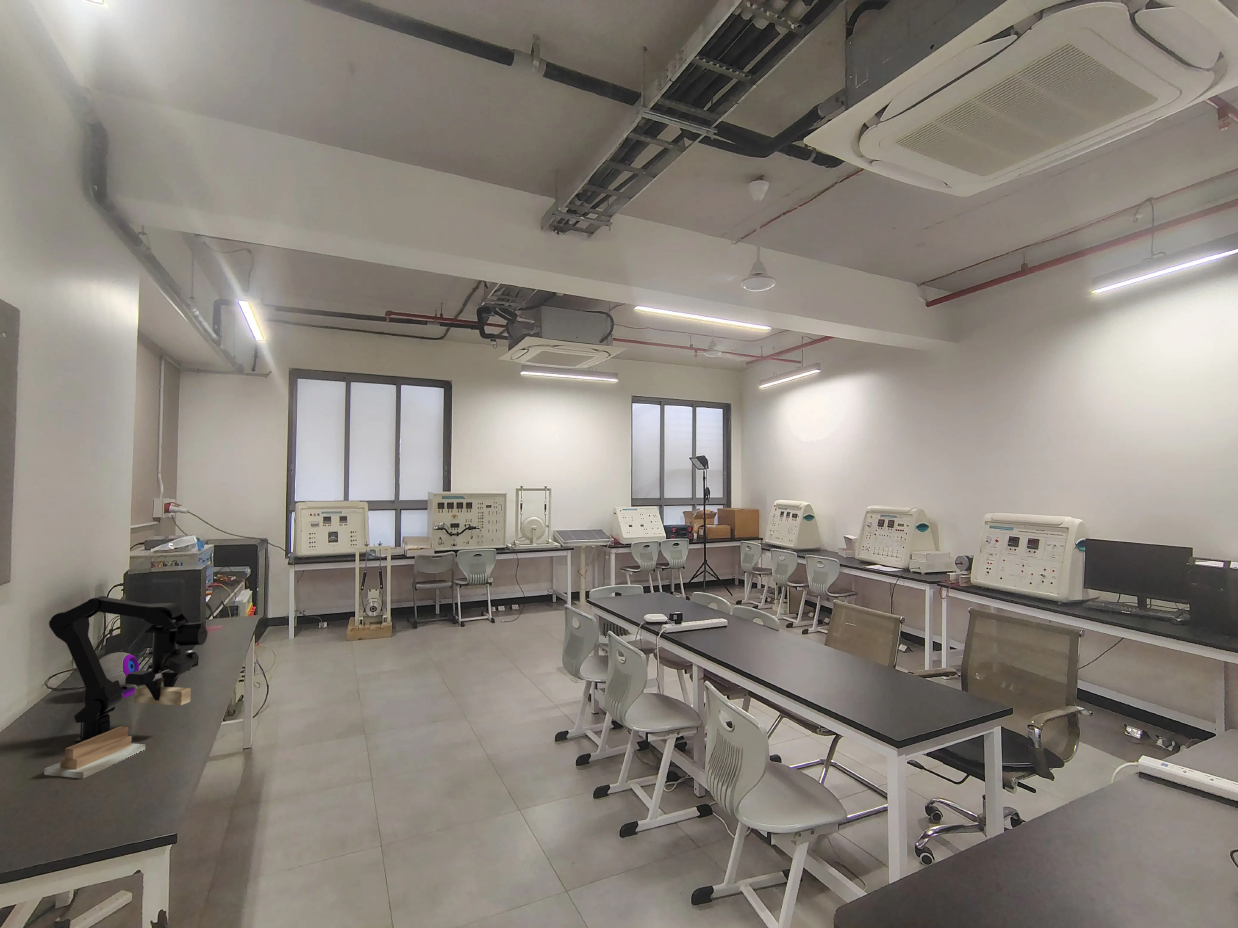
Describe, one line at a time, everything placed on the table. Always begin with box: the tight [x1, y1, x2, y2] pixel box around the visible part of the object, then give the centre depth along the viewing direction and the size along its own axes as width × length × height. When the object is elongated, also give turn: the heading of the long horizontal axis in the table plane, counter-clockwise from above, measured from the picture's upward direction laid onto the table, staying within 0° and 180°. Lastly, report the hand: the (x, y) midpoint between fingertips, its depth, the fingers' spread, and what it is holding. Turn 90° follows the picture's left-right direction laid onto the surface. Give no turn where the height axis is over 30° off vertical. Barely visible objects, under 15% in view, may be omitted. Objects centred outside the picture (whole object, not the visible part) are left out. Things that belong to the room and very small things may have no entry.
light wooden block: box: [133, 685, 192, 706], centre depth 170 cm, size 16×3×4 cm, turn 83°
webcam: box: [98, 651, 140, 699], centre depth 200 cm, size 13×13×15 cm
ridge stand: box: [43, 725, 146, 779], centre depth 152 cm, size 12×16×6 cm
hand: (162, 698), depth 170 cm, fingers closed on light wooden block, 3 cm apart
